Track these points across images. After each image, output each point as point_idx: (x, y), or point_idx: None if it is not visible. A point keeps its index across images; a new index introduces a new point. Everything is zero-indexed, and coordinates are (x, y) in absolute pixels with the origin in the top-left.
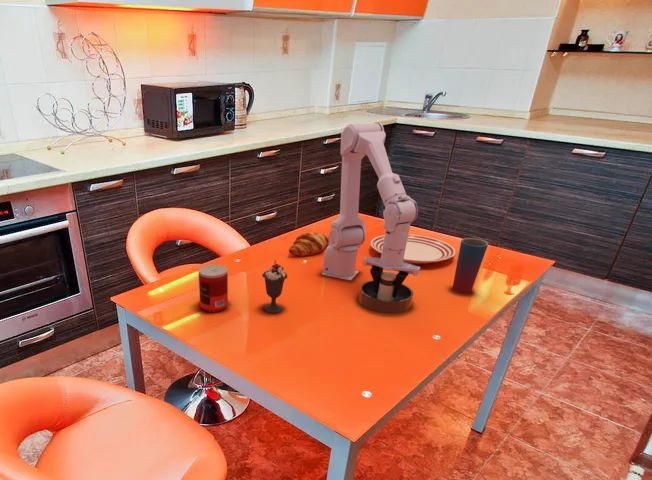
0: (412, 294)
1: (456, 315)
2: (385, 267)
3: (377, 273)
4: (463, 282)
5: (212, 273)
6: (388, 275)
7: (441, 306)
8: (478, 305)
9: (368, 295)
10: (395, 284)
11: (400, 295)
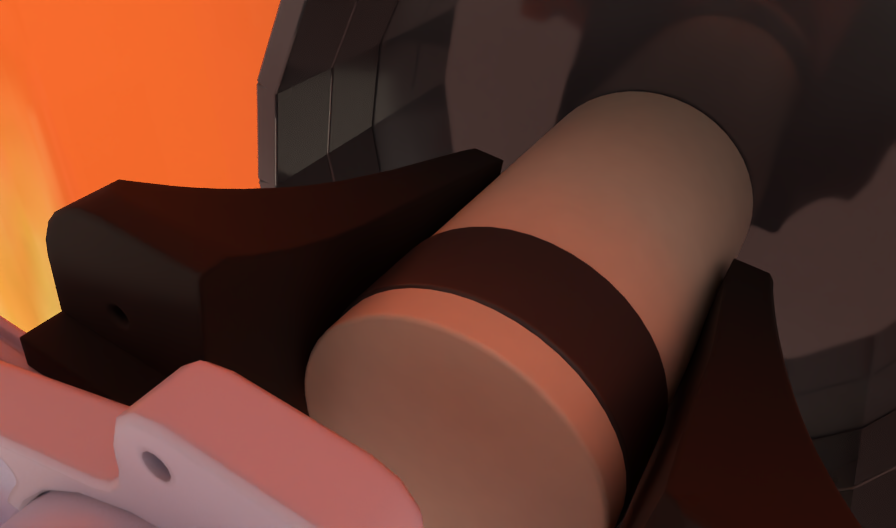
0: (265, 178)
1: (59, 31)
2: (286, 522)
3: (687, 500)
4: None
5: None
6: (451, 454)
7: (174, 177)
8: (30, 217)
9: (854, 359)
10: (360, 219)
11: None
